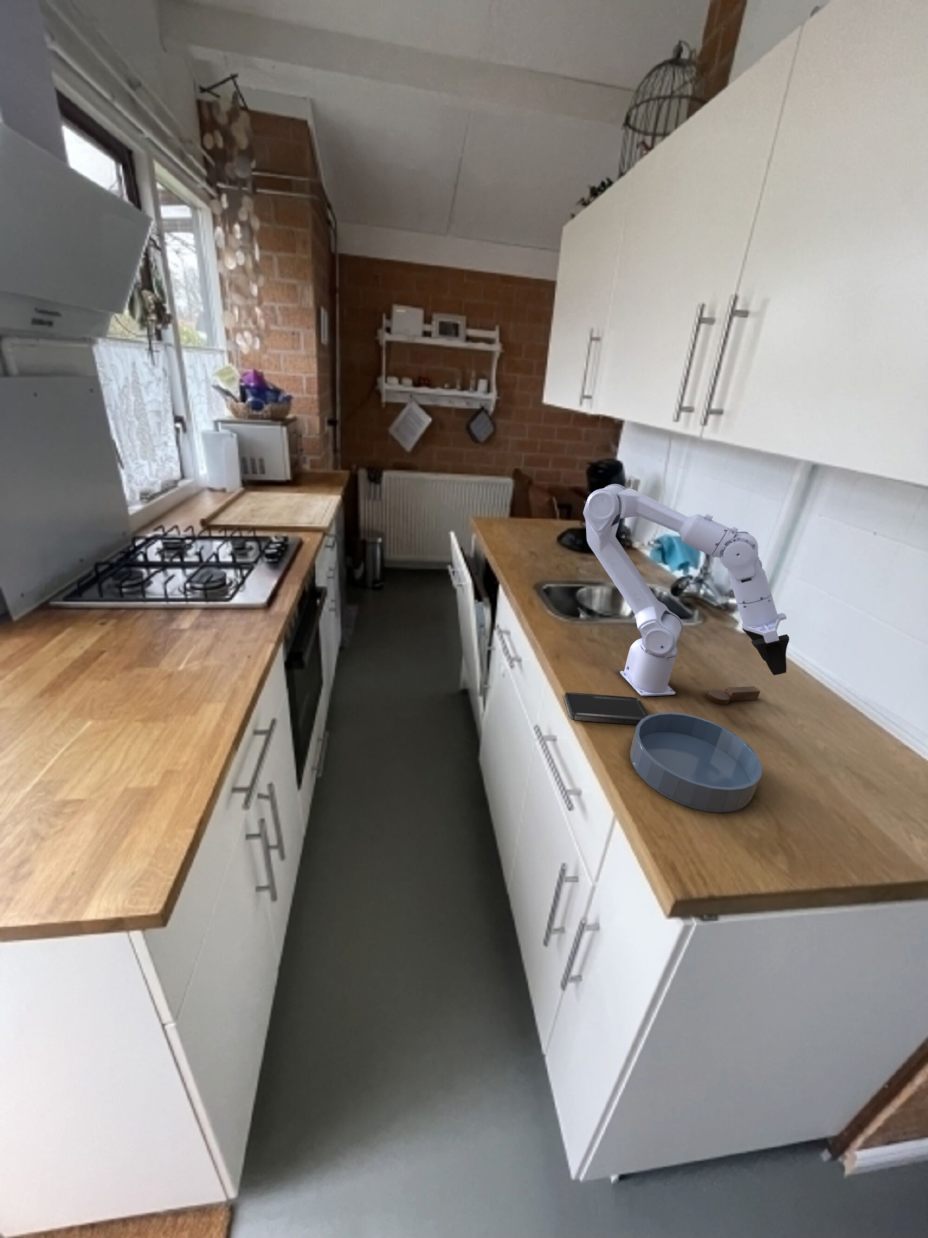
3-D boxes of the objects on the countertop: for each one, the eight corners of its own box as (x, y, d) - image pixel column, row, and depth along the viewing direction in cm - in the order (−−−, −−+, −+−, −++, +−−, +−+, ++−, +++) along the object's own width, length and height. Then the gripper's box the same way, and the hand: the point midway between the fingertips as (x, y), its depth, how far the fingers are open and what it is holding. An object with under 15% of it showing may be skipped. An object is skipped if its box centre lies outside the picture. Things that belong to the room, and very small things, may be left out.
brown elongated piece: (715, 705, 104) (718, 696, 103) (703, 694, 107) (706, 685, 106) (760, 702, 106) (764, 694, 105) (747, 692, 110) (750, 683, 109)
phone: (651, 721, 94) (571, 714, 94) (650, 726, 95) (570, 719, 94) (638, 697, 102) (564, 691, 101) (637, 702, 102) (563, 696, 102)
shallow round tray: (609, 735, 91) (615, 715, 89) (704, 729, 95) (711, 709, 94) (670, 818, 74) (678, 795, 72) (781, 806, 78) (791, 784, 77)
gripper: (789, 600, 85) (810, 674, 87) (768, 583, 98) (787, 647, 100) (743, 613, 87) (765, 684, 89) (729, 594, 101) (748, 657, 103)
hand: (774, 666), depth 95 cm, fingers open, 7 cm apart
